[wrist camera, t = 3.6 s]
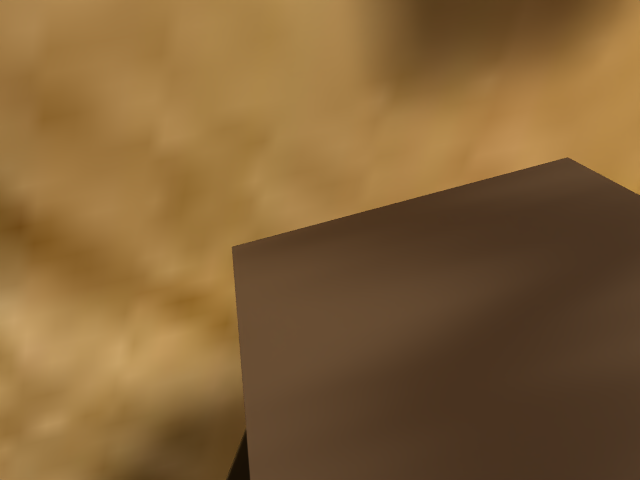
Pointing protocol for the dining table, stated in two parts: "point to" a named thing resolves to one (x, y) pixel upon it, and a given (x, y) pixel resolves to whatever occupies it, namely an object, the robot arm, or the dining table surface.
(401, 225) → the cube
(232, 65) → the dining table surface
